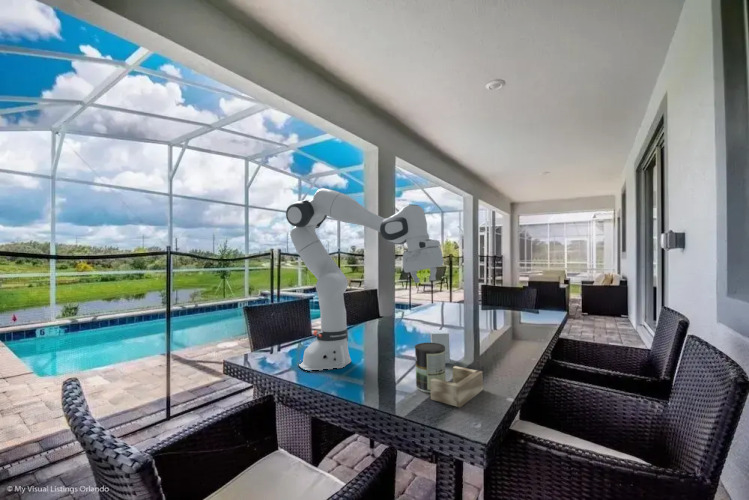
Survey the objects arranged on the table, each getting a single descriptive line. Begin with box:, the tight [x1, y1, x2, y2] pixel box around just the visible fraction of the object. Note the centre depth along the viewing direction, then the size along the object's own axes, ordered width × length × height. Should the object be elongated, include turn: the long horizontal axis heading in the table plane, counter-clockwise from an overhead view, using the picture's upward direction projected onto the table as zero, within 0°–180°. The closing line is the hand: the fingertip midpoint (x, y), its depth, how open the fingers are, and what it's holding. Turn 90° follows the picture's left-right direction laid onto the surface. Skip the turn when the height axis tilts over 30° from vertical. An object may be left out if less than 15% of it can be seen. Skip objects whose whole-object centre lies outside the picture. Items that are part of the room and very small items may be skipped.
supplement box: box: [430, 329, 451, 364], centre depth 148 cm, size 7×7×13 cm
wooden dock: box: [430, 365, 484, 408], centre depth 112 cm, size 10×17×6 cm, turn 140°
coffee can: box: [414, 342, 446, 394], centre depth 118 cm, size 10×10×14 cm
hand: (424, 281), depth 131 cm, fingers open, 8 cm apart
